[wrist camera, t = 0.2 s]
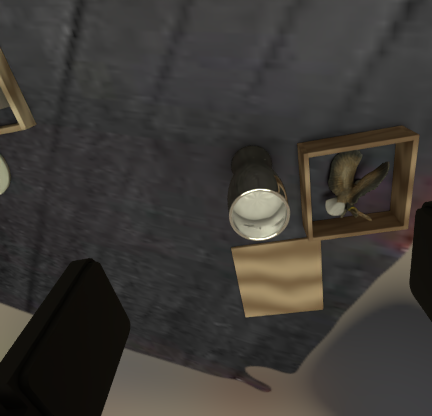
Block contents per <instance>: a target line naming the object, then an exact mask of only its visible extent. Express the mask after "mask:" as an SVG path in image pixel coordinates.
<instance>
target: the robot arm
mask: <svg viewBox="0 0 432 416" xmlns="http://www.w3.org/2000/svg"><path fill="white" fill-rule="evenodd" d="M410 289H411V292H412V294H413V295H414V297H415V299H416V300H417V301H418V303H419V304H420V306H421V307H422V309H423V310H424V311H425V313H426V314H427V316H428V317H429V319H430V320H431V321H432V201H429V202H425V203H424V204H423V205H422V208H420V209H417V211H416V215H415V226H414V237H413V248H412V259H411V271H410ZM129 332H130V321H129V318H128V316H127V314H126V312H125V311H124V309H123V307H122V305H121V303H120V301H119V299H118V297H117V295H116V293H115V291H114V289H113V287H112V285H111V284H110V282H109V280H108V278H107V276H106V274H105V272H104V270H103V268H102V266H101V264H100V263H99V262H95V261H94V260H93V259H91V258H88V259H82V260H76V261H72V262H71V263H70V264H69V266H68V267H67V268H66V270H65V271H64V273H63V274H62V276H61V277H60V278H59V280H58V281H57V283H56V284H55V285H54V287H53V288H52V290H51V291H50V293H49V294H48V295H47V297H46V298H45V300H44V301H43V303H42V304H41V305H40V307H39V308H38V310H37V311H36V313H35V314H34V315H33V317H32V318H31V320H30V321H29V322H28V324H27V325H26V327H25V328H24V330H23V331H22V332H21V334H20V335H19V337H18V338H17V340H16V341H15V342H14V344H13V345H12V347H11V348H10V349H9V351H8V352H7V354H6V355H5V357H4V358H3V360H2V361H1V362H0V416H101V414H102V411H103V408H104V405H105V402H106V400H107V397H108V394H109V391H110V387H111V385H112V382H113V379H114V376H115V373H116V370H117V367H118V364H119V361H120V358H121V356H122V352H123V350H124V347H125V344H126V341H127V338H128V335H129Z"/></svg>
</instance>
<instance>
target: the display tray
mask: <svg viewBox="0 0 432 416" xmlns="http://www.w3.org/2000/svg"><path fill="white" fill-rule="evenodd" d="M418 142H419V134H417V133H415V132H413V131H411V130H409V129H408V128H406V127H404V126H396V127H391V128H385V129H379V130H373V131H367V132H361V133H355V134H350V135H344V136H338V137H332V138H326V139H320V140H315V141H309V142H303V143H297V147H298V161H299V175H300V190H301V204H302V218H303V227H304V230H305V232H306V235H307V238H308V240H309V242H311V241H319V240H326V239H334V238H342V237H350V236H357V235H365V234H373V233H380V232H388V231H396V230H403V229H408V223H409V215H410V207H411V199H412V190H413V182H414V174H415V166H416V158H417V150H418ZM394 143H396V148H395V160H394V171H393V183H392V194H391V206H390V211H385V212H378V213H370V214H365V215H368V216H369V217H370V218H371V219H372V221H369V220H367V219H366V218H364V217H361V216H359V215H358V216H357V217H354V216H349V217H343V218H334V219H327V220H320V221H312V213H311V194H310V175H309V157H315V156H321V155H327V154H333V153H339V152H345V151H352V150H358V149H364V148H370V147H376V146H382V145H388V144H394Z"/></svg>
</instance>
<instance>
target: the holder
mask: <svg viewBox="0 0 432 416" xmlns="http://www.w3.org/2000/svg"><path fill="white" fill-rule="evenodd" d="M0 87H1V89H2V91H3V93H4V95H5V97H6V99H7V101H8V103H9V105H10V107H11V109H12V111H13V113H14V115H15V117H16V119H17V121H18V123H16V124H11V125H6V126H1V127H0V134H5V133H10V132H15V131H20V130H25V129H28V128H30V127H32V126H35V125H37V124H36V122H35V120H34V118H33V116H32V114H31V112H30V110H29V107H28V105H27V103H26V101H25V99H24V97H23V95H22V93H21V90H20V88H19V86H18V84H17V82H16V80H15V78H14V76H13V73H12V71H11V69H10V67H9V65H8V63H7V61H6V59H5V56H4V54H3V52H2V50H1V48H0Z"/></svg>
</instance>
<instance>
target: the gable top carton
mask: <svg viewBox="0 0 432 416" xmlns="http://www.w3.org/2000/svg"><path fill="white" fill-rule="evenodd" d="M9 106H10V105H9V103H8V101H7V99H6V97H5V95H4V93H3V91H2V89H1V87H0V109H3V108H6V107H9Z"/></svg>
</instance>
